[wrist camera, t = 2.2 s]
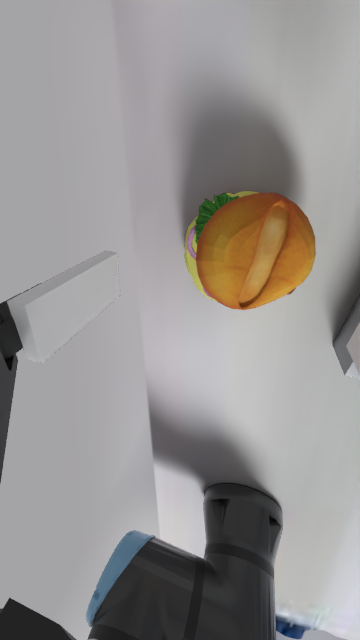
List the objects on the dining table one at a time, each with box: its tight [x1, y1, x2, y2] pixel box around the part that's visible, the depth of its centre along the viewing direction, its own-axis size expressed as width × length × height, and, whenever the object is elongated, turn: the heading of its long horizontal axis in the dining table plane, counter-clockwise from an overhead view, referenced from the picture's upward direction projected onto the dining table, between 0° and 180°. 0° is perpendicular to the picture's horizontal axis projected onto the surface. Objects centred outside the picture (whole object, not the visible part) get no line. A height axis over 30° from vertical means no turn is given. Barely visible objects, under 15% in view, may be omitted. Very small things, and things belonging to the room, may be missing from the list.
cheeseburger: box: [184, 191, 315, 310], centre depth 22 cm, size 10×11×10 cm
